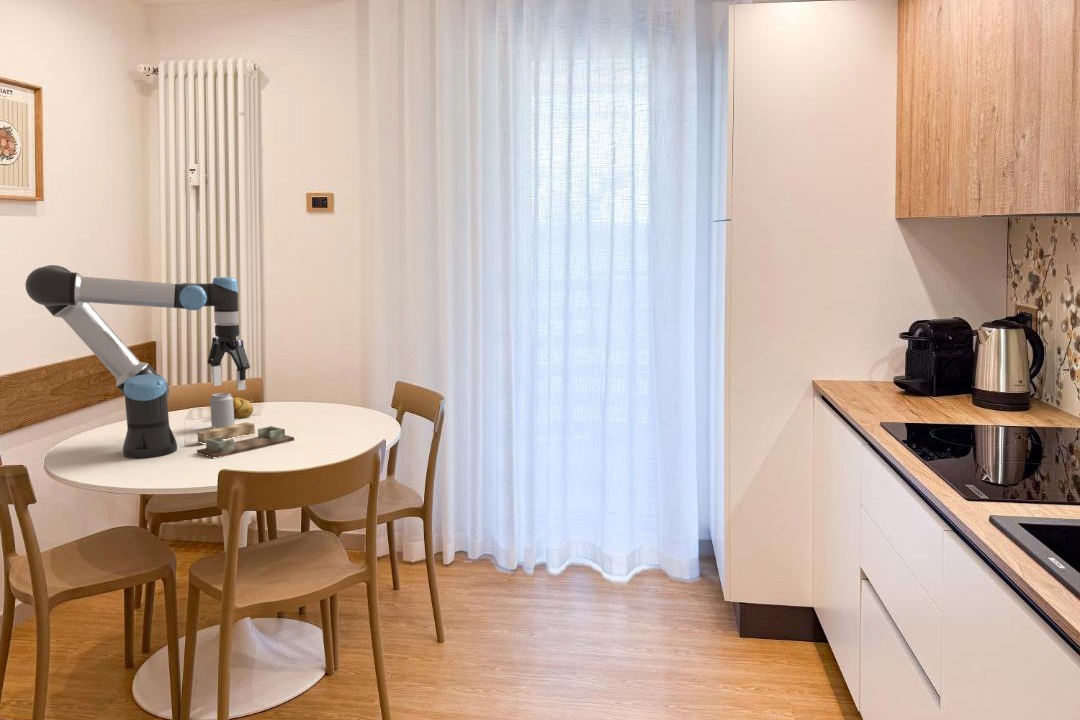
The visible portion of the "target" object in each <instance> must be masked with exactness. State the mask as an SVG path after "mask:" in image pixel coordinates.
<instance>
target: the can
mask: <svg viewBox="0 0 1080 720" xmlns="http://www.w3.org/2000/svg"><path fill="white" fill-rule="evenodd" d="M233 398H234V397H233V396H232V395H231V393H229V392H221V393H220V392H219V393H214V394H211V397H210V400H209V404H210V405H209V406H210V416H211V427H212V428H213V427H215V428H220V427H225V426H231V425H236V424H235V419H234V408H233Z"/></svg>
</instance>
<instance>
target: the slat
mask: <svg viewBox="0 0 1080 720" xmlns="http://www.w3.org/2000/svg"><path fill="white" fill-rule="evenodd" d="M196 434H197V443H198V442H202V443H206V439H211V438H216V437H223V439H228V438H232V437H237V436H242V435H249V434H256V430H255V423H252V422H249V421H246V422H243V423H236V424H235V425H231V426H225V427H220V428H215V429H214V428H211V429H206V430H200V431H197V433H196Z"/></svg>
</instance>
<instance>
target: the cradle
mask: <svg viewBox="0 0 1080 720" xmlns="http://www.w3.org/2000/svg"><path fill="white" fill-rule="evenodd" d="M257 435H258V436H257V437H256V436H255V437H251V438H247V439H243V440H242V439H241V440H238V441H235V439H231V440H226V441H223V437H216V438H211V439H206V445H205V448H199V449H196V453H197V452H198V453H201V454H204V455H203V456H205V455H208V456H211V457H218V458H220V457H219V456H222V457H225V456H226V455H227V456H230V455H236V454H240V453H244V452H249V451H252V450H257V449H262V448H267V447H270V446H274V445H278V444H284V443H288V442H292V441H295V437H294V436H290V435H286V429H285V428H282V427H281V428H280V427H277V426H272V425H269V426H265V427H261V428H257ZM198 453H197V454H198ZM235 453H236V454H235ZM201 454H200V455H201ZM208 456H207V457H208ZM211 457H210V458H211Z"/></svg>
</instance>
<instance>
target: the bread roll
mask: <svg viewBox="0 0 1080 720" xmlns="http://www.w3.org/2000/svg"><path fill="white" fill-rule="evenodd" d="M253 407H254V406H253V404H252V403H251V402H250V401H249V400H248V399H244V398H242V397H233V408H234V418H239V419H243V418H244V419H245V418H248V417H250V416H251V415H252V414H253V413H254V408H253Z"/></svg>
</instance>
